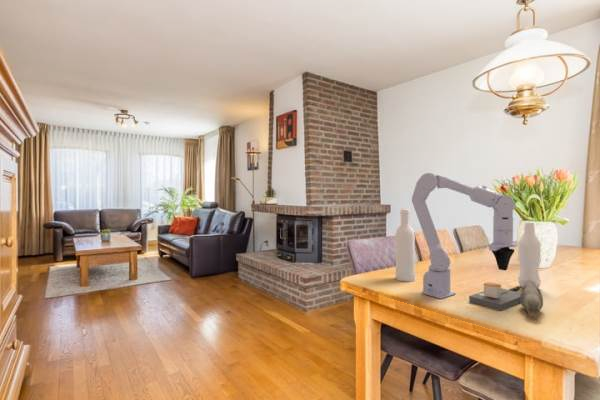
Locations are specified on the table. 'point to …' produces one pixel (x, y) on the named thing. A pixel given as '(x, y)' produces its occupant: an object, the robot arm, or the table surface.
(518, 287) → the twin grey rods
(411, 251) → the bottle
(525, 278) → the water bottle
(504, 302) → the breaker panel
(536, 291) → the decorative bird
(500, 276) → the table surface
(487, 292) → the handle
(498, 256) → the robot arm
